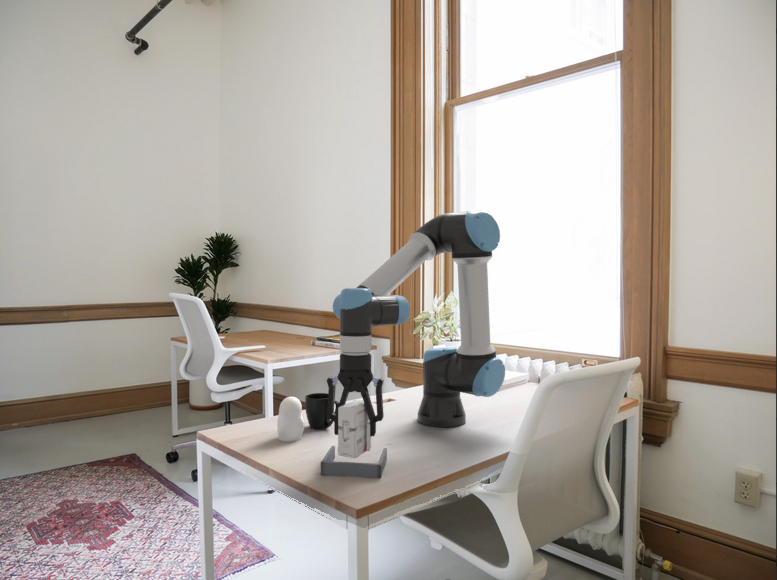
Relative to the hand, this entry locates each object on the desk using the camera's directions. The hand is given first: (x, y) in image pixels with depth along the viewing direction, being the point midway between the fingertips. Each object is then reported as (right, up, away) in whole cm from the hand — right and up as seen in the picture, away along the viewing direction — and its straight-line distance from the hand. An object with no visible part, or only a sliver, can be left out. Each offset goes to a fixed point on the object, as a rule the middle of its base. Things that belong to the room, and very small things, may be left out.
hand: (355, 448), depth 132 cm
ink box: (0, -1, 0) cm, 1 cm away
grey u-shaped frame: (0, -5, 0) cm, 5 cm away
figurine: (-20, -4, +23) cm, 30 cm away
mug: (-11, -4, +33) cm, 35 cm away
